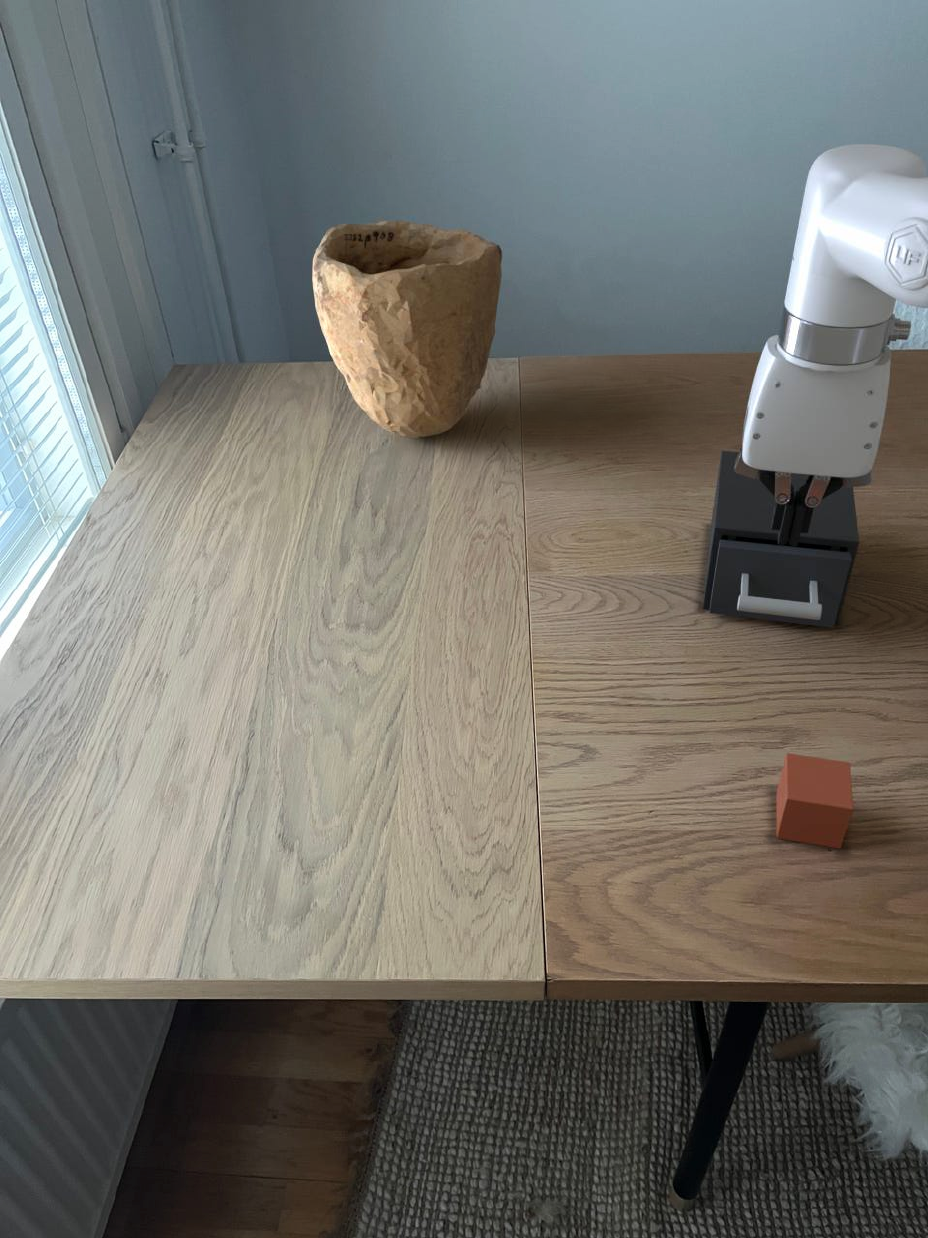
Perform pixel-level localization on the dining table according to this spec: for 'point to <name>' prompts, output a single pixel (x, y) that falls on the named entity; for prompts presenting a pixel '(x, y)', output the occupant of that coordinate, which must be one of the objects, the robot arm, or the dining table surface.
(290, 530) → the dining table surface
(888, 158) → the robot arm
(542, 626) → the dining table surface
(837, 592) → the dark grey drawer
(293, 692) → the dining table surface
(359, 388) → the rough clay pot
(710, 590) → the drawer cabinet
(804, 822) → the block
